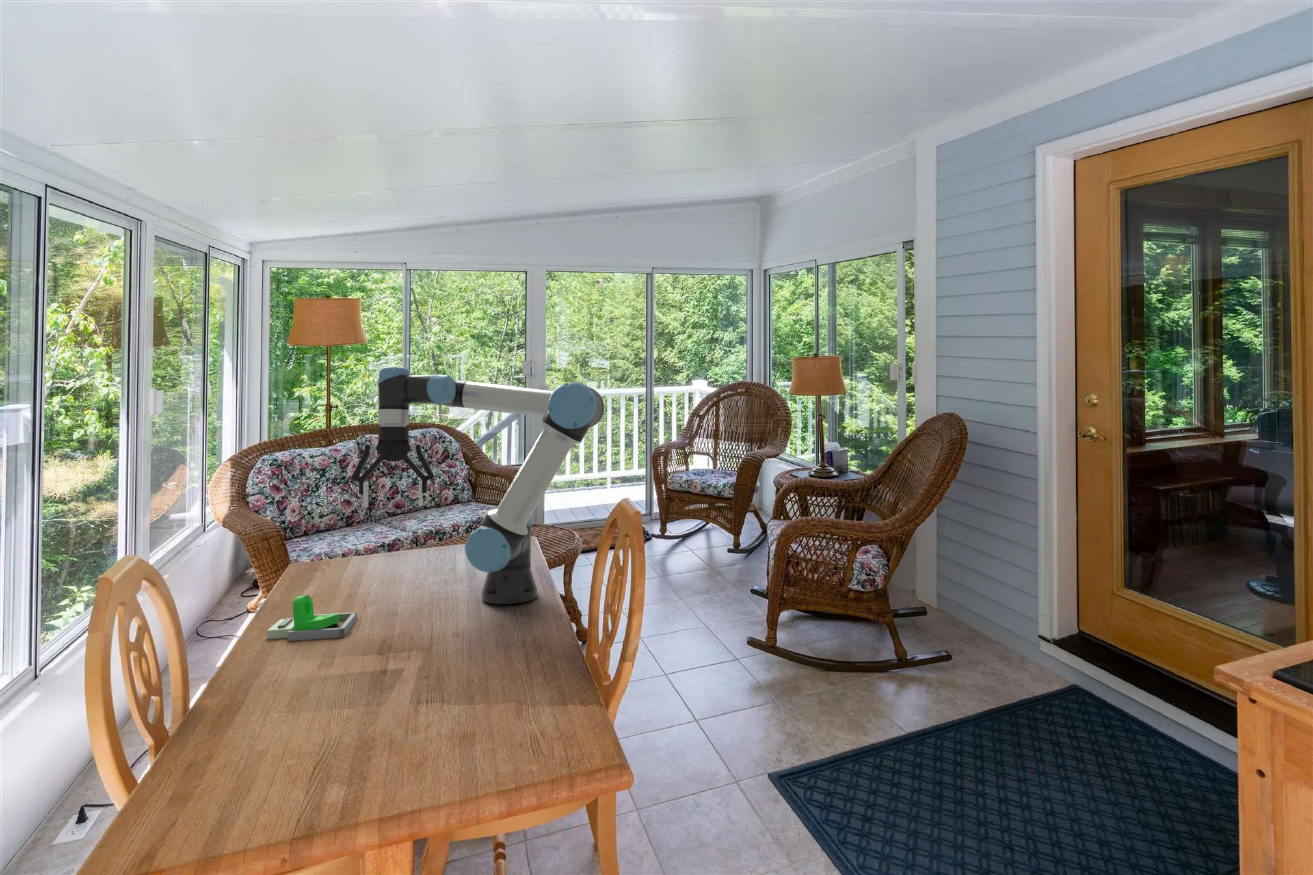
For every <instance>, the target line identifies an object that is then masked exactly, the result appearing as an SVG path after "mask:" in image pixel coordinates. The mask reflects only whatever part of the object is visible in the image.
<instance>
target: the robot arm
mask: <svg viewBox="0 0 1313 875" xmlns="http://www.w3.org/2000/svg"><path fill="white" fill-rule="evenodd" d="M377 387H378V388H377V390H378V409H377V413H378V414H377V416H378V417H377V420H378V421H377V424H378V426H379V425H380V426H379V427H378V428H377V431H378V432H377V433H378V436H377V441H378V442H377V445H373V444H365V445H364V451H363V452H364V453H363V454H362V456H361V458H360V460H359V461H358V464H357V465H356V467H355V469H354V471H353V473H352V475H351V477H350V478H351V480H352V481H356V482H358V493H359V495H360V496H361V495H362V496H363V497H362V502H363V505H362V506H363V508H364V509H365V508H366V509H367V508H369V481H366V480H368V478H369V477H370V476H371V474H373V472H374V471H376V469H377V468H378V467H379V466H380V465H381V463H383V461H385V462H393V461H394V462H401V461H404V462H405V463H406V464H407V466H408V467H409V468H410V469H411V470H412V471H413V472H414V473H415V474H416V475H417V477H419V479H420V481H418V507H423V504H424V500H423V499H424V495H423V494H427V492H428V481H429V480H432V479H434V478H435V474H434V472H433V470H432V468H431V467H430V464H429V463H428V460H427V459H426V456H425V455H424V453H423V450H422V445H421V444H420V443H418V444H413V445H411V444H410V439H409V438H410V429H409V427H408V425H409V424H410V421H409V420H410V408H409V407H410V404H430V405H438V406H439V405H440V406H447V407H452V408H463V409H464V408H465V409H473V410H481V411H489V412H497V413H506V414H515V415H524V416H529V417H531V416H533V417H537V418H538V417H539V418H541V425H542V430H541V432H540V434H539V435H538V437H537V439H536V441H535V442H534V444H533V446H532V447H531V449H530V451H529V453H528V454H527V456H526V458H525V460H524V462H523V463H522V464H521V466H520V468H519V470H518V471H517V473H516V475H515V477H514V478H513V480H512V482H511V484H510V486H509V487H508V488H507V489H506V492H505V494H504V496H503V497H502V499H501V501H500V503H499V504H498V506H497V507H496V508H492V509H491V510H487V513H486V515H485V516H484V518H483V519H482V521H481V523H480V525H479V526H478V528H476V529H474V530H473V531H472V532H471V533H470V534H469V535H468V537H467V539H466V541H465V547H464V549H465V550H464V551H465V552H464V553H465V555H466V559H467V560H468V562H469V564H470V565H471V566H472V567H473V568H474V569H477V570H478V571H480V572H483V573H487V575H486V577H485V580H484V583H483V587H482V590H481V601H483V602H485V603H490V604H494V605H495V604H499V605H510V604H520V603H525V602H526V603H527V602H529V601H533V600H535V599H536V598H537V597H538V587H537V585H536V580H535V579H534V576H533V575H534V574H533V572H532V564H531V563H532V562H531V560H532V557H531V556H532V552H531V550H532V548H531V546H532V540H531V539H532V536H531V535H532V525H531V524H532V523H531V519H530V518H531V517H532V515H533V513H534V511H535V510H536V508H537V506H538V504H540V502H541V499H542V498H543V496H544V495H545V493H546V491H547V489H548V488H549V486H550V484H551V483H552V481H553V479H554V477H555V476H556V474H557V472H558V471H559V469H560V468H561V466H562V464H563V462H564V460H565V459H566V457H567V456H568V454H569V452H570V450H571V448H572V447H573V446H575V445H578V444H581V443H582V441H583V439H584V438H585V436H586V434H587V433H588V431H589V429H590V428H593V427H594V426H596V425H597V424H598V423H599V422H600V421H601V420H602V418H603V415H604V412H605V403H604V399H603V398H602V396H601V394H600V393H599V391H597V390H596V389H594V388H592V387H590V386H588V385H587V384H584V383H582V382H576V381H570V382H566V383H563V384H561V385H559V386H557V387H556V389H554V390H546V389H538V388H531V387H529V388H528V387H522V386H521V387H520V386H511V385H501V384H494V383H486V382H485V383H484V382H477V381H475V382H474V381H467V380H460V379H459V380H458V379H453V377H452V376H451V375H449V374H440V373H436V374H410V371H409V369H408V368H407V367H401V366H385V367H381V368H380V369H379V371H378V382H377ZM374 451H376V452H377V453H378V454H379V456H378V457H376V459H375V461H373V462H372V464H370V466H369V467H368V468H367V470H365V472H364V473H363V474H362V475H360V474H361V473H362V471H363V469H364V468H365V465H366V463H367V462H368V460H369V458H370V456H371V454H373V453H374ZM410 451H413V453H414V454H416V456H417V458H418V460H419V462H420V463H421V466H422V467H423V469H424V470H425V472H426V475H425V473H424V472H422V470H421V469H420V468H419V467H418V466H417V465H416V464H415V463H414V461H413V460H412V459H411V458H410V457H409V455H408V454H409V453H410Z"/></svg>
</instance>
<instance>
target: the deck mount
mask: <svg viewBox="0 0 1313 875" xmlns="http://www.w3.org/2000/svg"><path fill="white" fill-rule="evenodd" d="M330 614H331V613H324V614H323V613H322V614H314V617H317V616H323V615H330ZM335 614H339V621H344V620H345V621H344V622H343V623H342V624H341V626H340V627H334V628H333V627H331V628H321V629H314V630H298V631H295V630H294V617H286V618H280V619H279V620H278V621H276V623H274V624H273V625H272V626H270V628H268V629H267V630H266V639H267V640H273V639H274V640H275V639H286V640H287V642H289V641H290V642H291V641H293V642H294V641H307V640H320V639H321V640H323V639H335V638H337V639H339V638H345V637H346V635H347V634H348V633H349V631H350V630H351V628H352V627H353V625H354V624H355V621H356V620H357V618H358V612H357V611H356V612H339V613H337V612H336V613H335Z"/></svg>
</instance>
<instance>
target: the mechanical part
mask: <svg viewBox="0 0 1313 875" xmlns="http://www.w3.org/2000/svg"><path fill="white" fill-rule="evenodd" d="M294 598H295V599H294V601H293V603H292V612H293V613H292V615H293V617H292V618H293V619H294V630H295V631H298V630H314V629H325V628H327V627H329V626H333V625H334V624H338V623H340V620H339V614H336V613H329V614H330V615H323V616H317V617H314V615H315V612H314V603H313V599H312V597H311V596H310V595H308V594H306V595H299V596H296V597H294Z"/></svg>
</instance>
